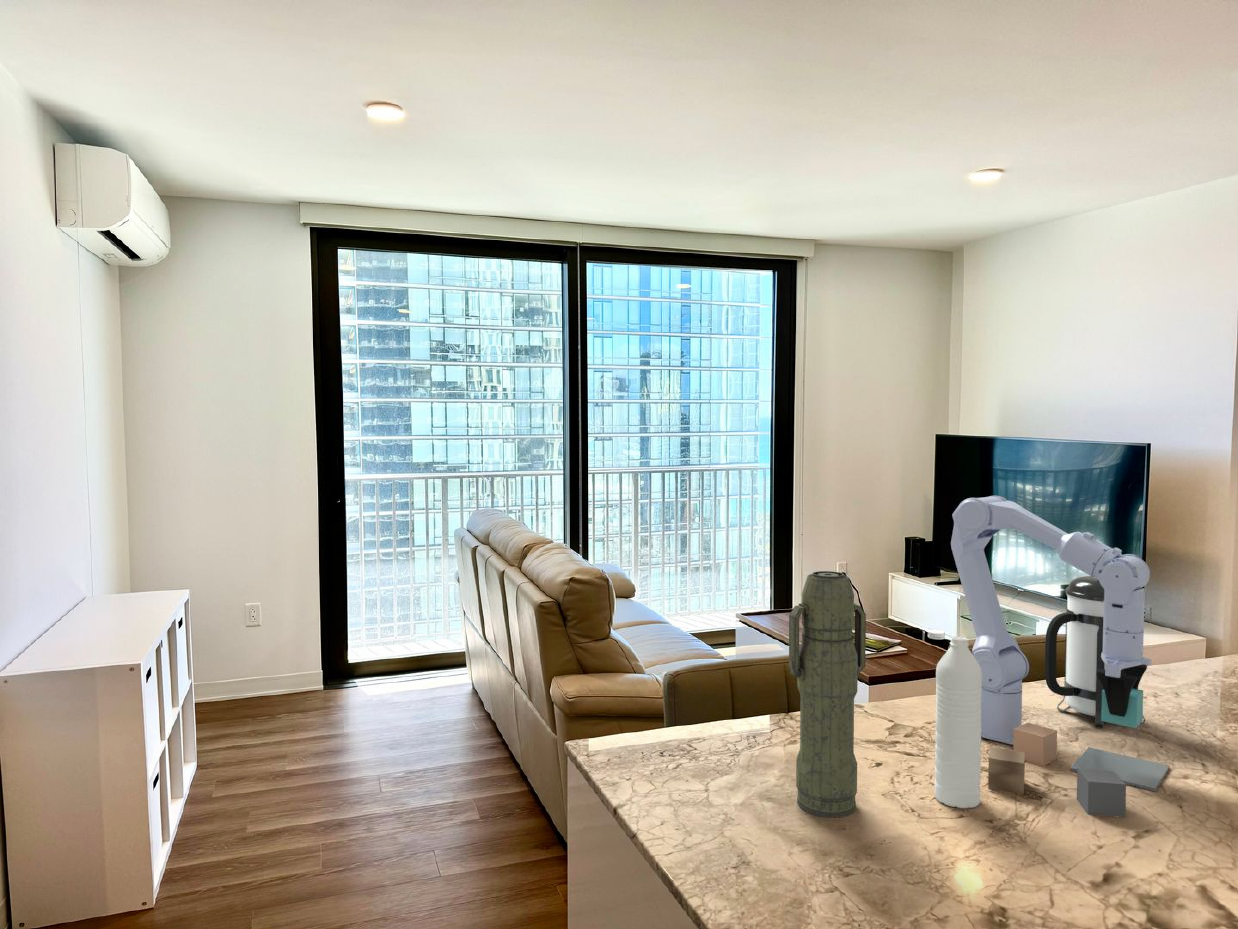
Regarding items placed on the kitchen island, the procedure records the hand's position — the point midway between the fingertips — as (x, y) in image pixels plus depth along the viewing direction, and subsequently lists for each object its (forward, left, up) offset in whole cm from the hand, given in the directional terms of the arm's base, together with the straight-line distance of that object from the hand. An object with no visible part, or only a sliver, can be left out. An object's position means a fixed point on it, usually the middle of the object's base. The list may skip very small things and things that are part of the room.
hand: (1121, 710), depth 138 cm
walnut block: (-12, -19, -10) cm, 25 cm away
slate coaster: (0, 0, -10) cm, 10 cm away
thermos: (-30, -44, -10) cm, 54 cm away
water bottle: (-17, -29, -10) cm, 35 cm away
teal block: (0, 0, -2) cm, 2 cm away
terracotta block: (-12, -4, -10) cm, 16 cm away
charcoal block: (+1, -18, -10) cm, 21 cm away
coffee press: (-9, +25, -10) cm, 28 cm away
